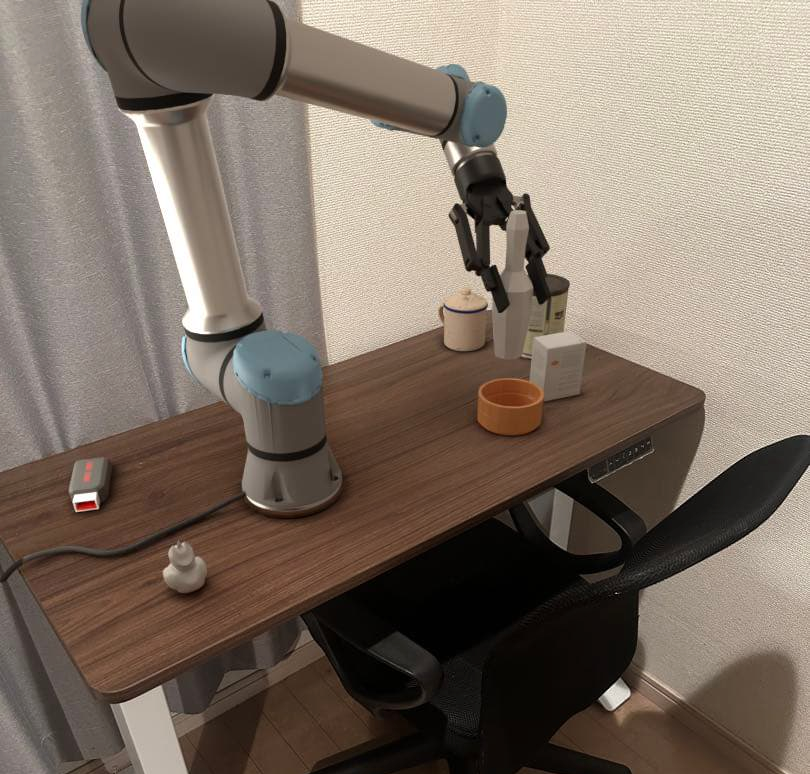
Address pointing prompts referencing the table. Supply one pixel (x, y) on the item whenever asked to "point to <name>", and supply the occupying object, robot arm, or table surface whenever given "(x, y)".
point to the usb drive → (90, 483)
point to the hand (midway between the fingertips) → (524, 304)
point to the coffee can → (547, 312)
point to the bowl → (510, 406)
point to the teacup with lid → (464, 320)
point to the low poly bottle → (514, 292)
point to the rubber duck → (184, 569)
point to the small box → (558, 364)
